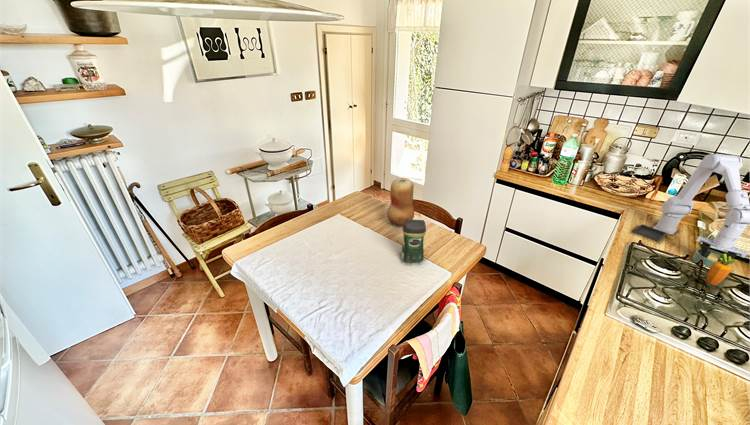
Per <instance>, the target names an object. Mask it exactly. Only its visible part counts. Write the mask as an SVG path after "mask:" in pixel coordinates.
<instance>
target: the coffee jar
mask: <svg viewBox="0 0 750 425" xmlns="http://www.w3.org/2000/svg"><path fill="white" fill-rule="evenodd" d="M426 225H427V224H426V221H425V220H424V219H413V220H405V221H404V225H403V226H402V234H403V239H402V247H401V252H400V258H401V260H402V261H403V262H404V263H406V264H419V263H422V262H423V261H424V255H425V253H424V239H425V235H426V234H427V226H426Z"/></svg>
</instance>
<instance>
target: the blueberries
mask: <svg viewBox="0 0 750 425" xmlns="http://www.w3.org/2000/svg"><path fill="white" fill-rule="evenodd" d="M632 317H633V320H634V321H636V322H638V323H641V322H640V321H638V320H637V319H639V320H641V321H642V322H643V323H645V322H644V321H646V323H647V324H650V323H652V321H651V320H649V319H648V318H645V317H644V316H642V315H638V314H637V315H633V316H632ZM647 321H649V322H647ZM646 323H645V324H646ZM652 324H653V326H652V327H654V326H656V327H654V328H658V329H660V326H659V325H657V324H655V323H652Z"/></svg>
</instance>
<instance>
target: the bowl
mask: <svg viewBox="0 0 750 425" xmlns="http://www.w3.org/2000/svg"><path fill="white" fill-rule="evenodd" d="M711 252H713V253H716V254H718V255H721V256H720V257H719V259H718V260H717V262H718V261H721V260H720V258H722V259H723V254H724V253H721V252H718V251H715V250H712V249H710V248H709V249H708V250H707V252H706V254H705V256H704V257H703V256H701V248H698V249H696V250H695V252H694V253H693V255H692V256H691V261H693V263H695V264H696V263H697V262H699V260H701V259H702V260H703V264H704V265H705V266H708V267H711V266H712V264H713V263H714V261H712V260H709V259H707V257H708V256H709V254H710V253H711ZM732 260H733V259H731V261H732ZM729 265H730V266H731V267H732V265H733V263H731V264H729Z"/></svg>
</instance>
